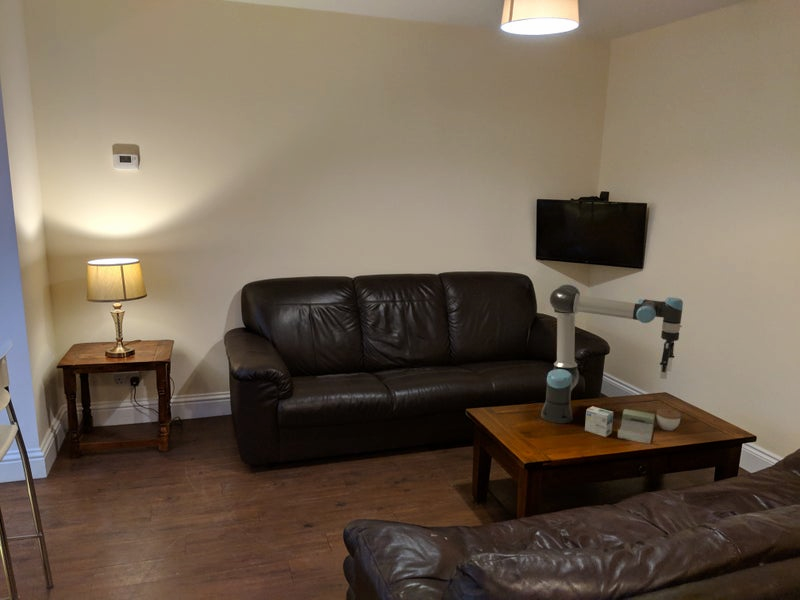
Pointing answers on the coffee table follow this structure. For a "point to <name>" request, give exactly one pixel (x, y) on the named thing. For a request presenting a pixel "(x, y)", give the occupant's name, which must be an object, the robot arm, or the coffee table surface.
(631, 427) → the chute
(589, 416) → the light bulb box
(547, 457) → the coffee table surface
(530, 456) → the coffee table surface
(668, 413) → the lidded jar
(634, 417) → the olive green block
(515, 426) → the coffee table surface
